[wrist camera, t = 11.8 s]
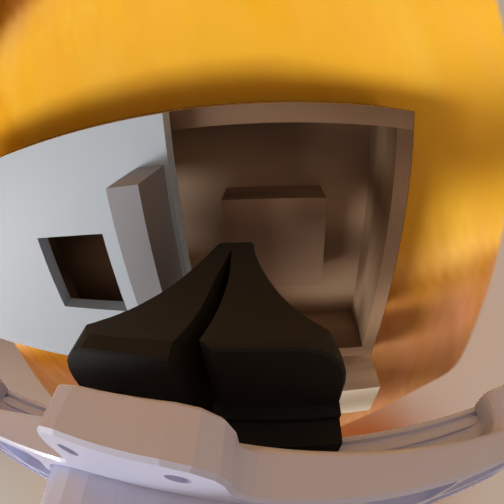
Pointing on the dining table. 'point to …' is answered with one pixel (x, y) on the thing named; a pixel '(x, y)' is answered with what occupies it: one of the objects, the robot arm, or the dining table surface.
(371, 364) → the wooden block
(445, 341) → the dining table surface
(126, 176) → the toolbox lid
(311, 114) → the toolbox
